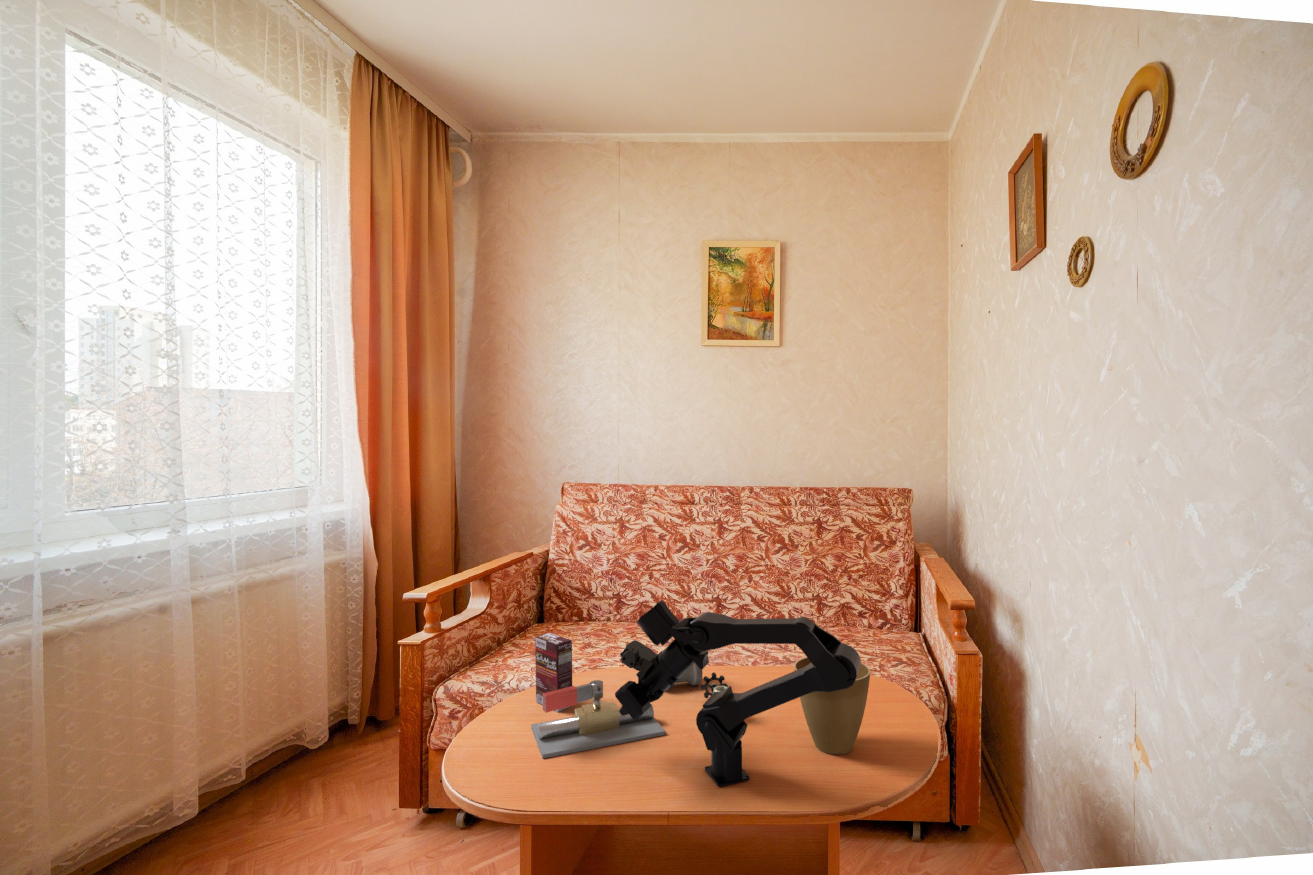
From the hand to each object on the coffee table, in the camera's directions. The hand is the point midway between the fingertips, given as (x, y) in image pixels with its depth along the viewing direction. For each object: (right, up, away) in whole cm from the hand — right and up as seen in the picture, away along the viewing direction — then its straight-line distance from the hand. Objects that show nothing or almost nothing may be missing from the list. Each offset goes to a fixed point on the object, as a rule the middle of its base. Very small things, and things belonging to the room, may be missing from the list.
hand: (623, 710), depth 125 cm
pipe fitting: (+12, -8, +33) cm, 36 cm away
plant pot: (+43, -8, +2) cm, 43 cm away
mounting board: (-6, -8, +9) cm, 14 cm away
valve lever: (-11, -1, +6) cm, 13 cm away
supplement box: (-18, -9, +23) cm, 30 cm away
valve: (+21, -8, +19) cm, 29 cm away
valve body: (-6, -8, +9) cm, 14 cm away
